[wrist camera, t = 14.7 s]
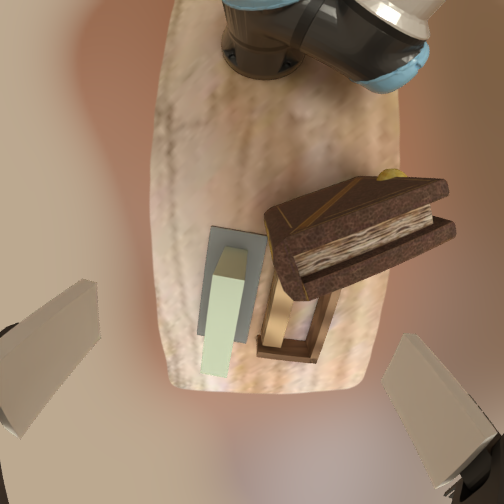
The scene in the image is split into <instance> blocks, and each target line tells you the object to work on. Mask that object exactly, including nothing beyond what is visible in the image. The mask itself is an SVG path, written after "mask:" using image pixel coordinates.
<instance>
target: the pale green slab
mask: <svg viewBox="0 0 504 504" xmlns="http://www.w3.org/2000/svg"><path fill="white" fill-rule="evenodd" d="M247 254H248V250H244V249H238V248H233V247H227V246H225V248H224V250H223V252H222V255H221V257H220V259H219V262H218V264H217V266H216V268H215V271H214V273H213V276H212V283H211V290H210V298H209V305H208V313H207V321H206V328H205V337H204V345H203V354H202V362H201V371H200V373H202V374H207V375H213V376H218V377H224V378H227V374H228V369H229V363H230V358H231V352H232V347H233V341H234V336H235V331H236V325H237V320H238V314H239V309H240V304H241V298H242V293H243V287H244V282H245V273H246V264H247Z"/></svg>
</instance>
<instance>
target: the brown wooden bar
mask: <svg viewBox="0 0 504 504" xmlns="http://www.w3.org/2000/svg"><path fill="white" fill-rule="evenodd" d="M292 305H293V300H292V299H291V298H290V297H289V296H288V295H287V294H286V293H285V292H284V291H283V288H282V286H281V283H280V280H279V278H278V275H277V272H276V270H275V272H274V277H273V281H272V286H271V290H270V295H269V299H268V304H267V308H266V313H265V317H264V321H263V326H262V330H261V342H262V345H264V346H271V347H279V348H281V345H282V342H283V338H284V334H285V331H286V327H287V324H288V320H289V316H290V312H291V309H292Z"/></svg>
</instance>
